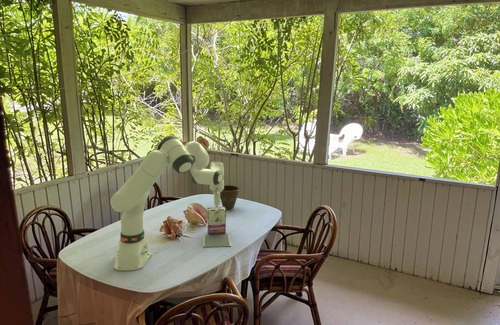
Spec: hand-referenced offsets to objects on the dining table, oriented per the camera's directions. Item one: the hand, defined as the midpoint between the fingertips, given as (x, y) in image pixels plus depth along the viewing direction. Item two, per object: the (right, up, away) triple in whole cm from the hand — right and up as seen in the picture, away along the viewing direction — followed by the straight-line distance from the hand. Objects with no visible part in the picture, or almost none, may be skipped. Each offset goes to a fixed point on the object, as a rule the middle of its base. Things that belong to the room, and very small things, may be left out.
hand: (216, 206), depth 225 cm
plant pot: (+5, -6, +38) cm, 39 cm away
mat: (+2, -18, -16) cm, 24 cm away
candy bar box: (0, -16, -5) cm, 17 cm away
